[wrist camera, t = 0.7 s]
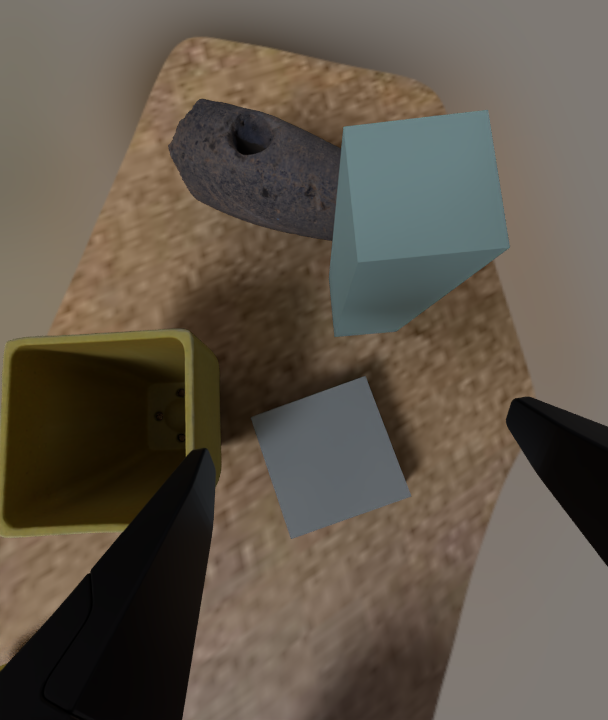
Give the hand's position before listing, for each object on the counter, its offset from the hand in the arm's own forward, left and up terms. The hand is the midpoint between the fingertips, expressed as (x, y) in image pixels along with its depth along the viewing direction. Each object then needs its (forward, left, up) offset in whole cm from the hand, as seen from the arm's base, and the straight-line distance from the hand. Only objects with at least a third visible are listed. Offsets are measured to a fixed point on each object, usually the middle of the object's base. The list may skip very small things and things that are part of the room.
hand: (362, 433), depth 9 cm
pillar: (+6, -4, -13) cm, 15 cm away
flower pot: (+3, +11, -13) cm, 17 cm away
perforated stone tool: (+14, -2, -13) cm, 20 cm away
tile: (-3, +2, -13) cm, 13 cm away
